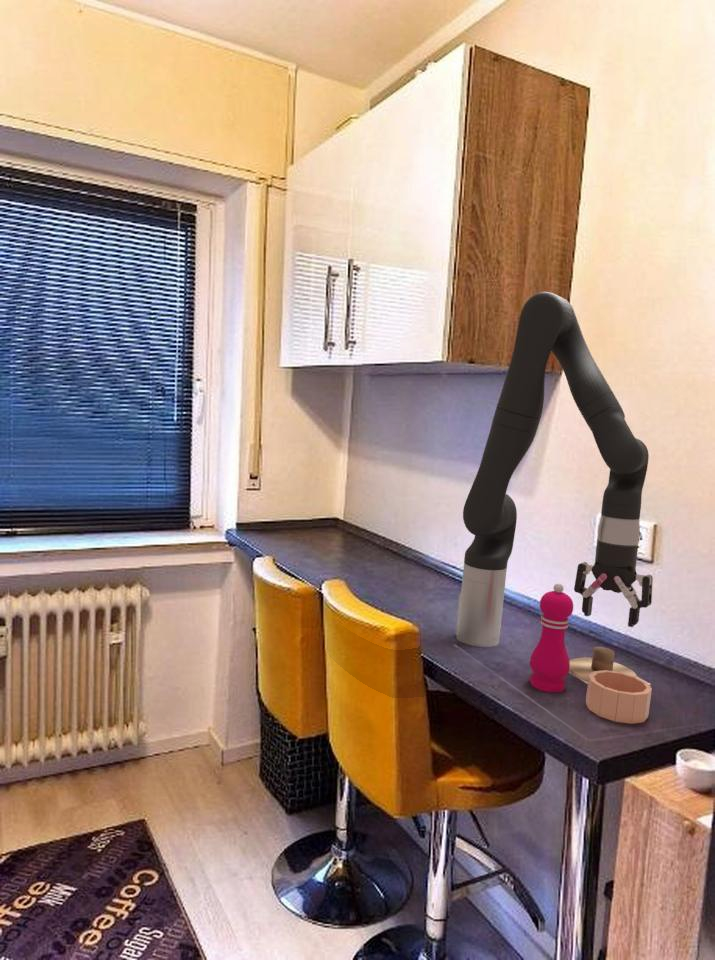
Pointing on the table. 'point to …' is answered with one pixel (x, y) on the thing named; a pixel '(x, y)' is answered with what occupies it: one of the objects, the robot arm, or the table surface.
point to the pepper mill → (552, 642)
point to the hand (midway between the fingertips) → (609, 620)
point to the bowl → (618, 696)
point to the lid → (597, 664)
